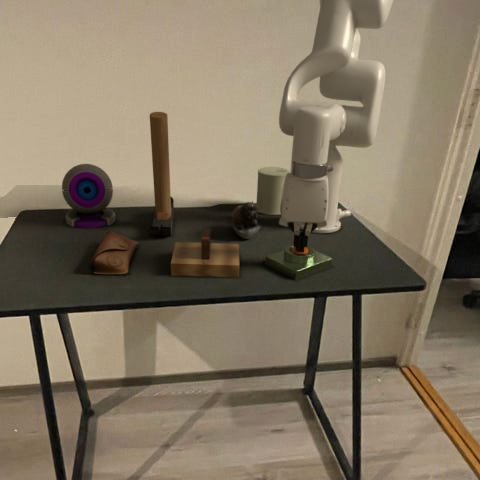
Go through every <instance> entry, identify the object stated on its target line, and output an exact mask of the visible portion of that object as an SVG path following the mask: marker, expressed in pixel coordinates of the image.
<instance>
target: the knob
mask: <svg viewBox="0 0 480 480" xmlns="http://www.w3.org/2000/svg"><path fill="white" fill-rule="evenodd" d="M201 243H202V259H210V249H211V243H212V229H211V228H203V229H202V234H201Z"/></svg>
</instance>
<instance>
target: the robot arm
mask: <svg viewBox="0 0 480 480" xmlns="http://www.w3.org/2000/svg"><path fill="white" fill-rule="evenodd" d="M318 1H319V11H318V12H319V13H318V17H317V21H316V28H315V34H314V38H313V45H312V49H311V52H310V53H309V54H308V55H306V57H305V58H304V59H302V60H301V61H300V62H298V64H297V65H296V67H295V68H294V69H293V70H292V71H291V73H290V74H289V77H288V78H287V80H286V81H285V85H284V89H283V92H282V99H281V102H280V108H279V113H278V114H279V115H278V116H279V117H278V125H279V129H280V130H281V131H280V132H282V133H283V134H285V135H286V136H290V137H293V138H292V139H293V140H292V148H291V158H290V159H291V160H290V169H289V172H290V173H287V174H286V177H285V181H284V185H283V191H282V198H281V206H280V213H281V214H280V215H279V218H278V225H279V226H283V227H287V228H289V229H290V230H291V231H292V233H293V242H292V244H293V246H294V247H296V250H297V252H299V251H301V252H304V247H307V246H308V244H309V243H308V242H309V236H310V235H311V233H313V234H330V233H335V232H337V231H339V230H340V229H341V226H342V223H341V221H340V220H341V219H342V218H350V217H351V216H352V213H351V210H350V209H345V210H342V208H338V206H339V199H340V191H341V184H342V176H343V169H344V160H343V158H342V155H341V153H340V151H339V150H338V148H337V147H350V148H359V149H366V148H369V147H371V146H372V145H373V144H374V142H375V140H376V137H377V133H378V128H379V122H380V117H381V110H382V104H383V100H384V99H383V98H384V92H385V85H386V67H385V66H384V64H383V63H382V62H380V61H379V60H374V59H366V58H365V59H363V58H359V53H360V47H361V42H362V41H361V40H362V38H361V34H360V32H359V30H358V29H367V30H379V29H381V28H382V27H384V26H385V24H386V22H387V20H388V18H389V15H390V12H391V9H392V7H393V4H394V0H318ZM318 78H319V82H318V83H319V84H318V85H319V86H318V88H319V93H320V95H321V96H322V97H324V98H326V99H329V100H336V101H346V102H347V101H348V102H359V103H361V104H362V106H354V105H346V104H339V103H335V102H328V101H318V100H309V99H307V100H305V99H297V98H298V94H299V93H300V91H301V90H302V89H303V87H305V85H307V84H308V83H310V82H311V81H314V80H315V79H318Z"/></svg>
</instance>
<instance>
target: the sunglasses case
mask: <svg viewBox="0 0 480 480" xmlns="http://www.w3.org/2000/svg"><path fill="white" fill-rule="evenodd" d="M139 244H140V242H139V241H137V240H133V239H131V238H128V237H125V236H123V235H120V234H119V233H115V232H113V231H112V230H111V229H109V230H107V231H106V233H105V235H104V236H103V238H102V239H101V241H100V243H99V245H98V247H97V248H96V250H95V252H94V255H93V257H92V258H91V261H90V265H89V269H90V270H91V272H92V273H93V274H95V275H101V276H102V275H104V276H118V275H119V276H121V275H127V274H129V269H130V263H131V260H132V258H133V256H134V253H135V251H136V249H137V247H138V246H139Z"/></svg>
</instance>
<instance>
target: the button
mask: <svg viewBox="0 0 480 480" xmlns="http://www.w3.org/2000/svg"><path fill="white" fill-rule="evenodd" d="M308 251H309V250H308V248H306V247H304V252H301V251H299V252H297V250H296V247H292V248H291V252H293V253H296V254H307V253H308Z"/></svg>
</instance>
